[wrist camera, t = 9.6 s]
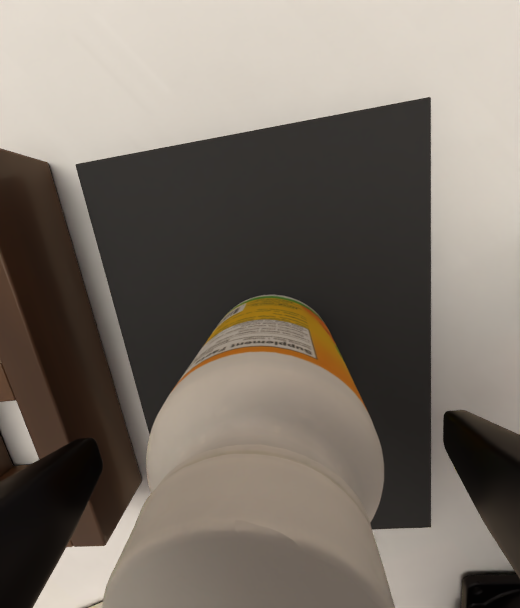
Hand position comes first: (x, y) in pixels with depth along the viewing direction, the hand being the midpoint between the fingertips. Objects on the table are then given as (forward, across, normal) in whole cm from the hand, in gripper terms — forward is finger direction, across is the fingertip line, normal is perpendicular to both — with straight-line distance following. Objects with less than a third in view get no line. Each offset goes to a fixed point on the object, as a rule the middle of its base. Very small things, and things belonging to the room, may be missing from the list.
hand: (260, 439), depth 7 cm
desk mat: (+6, 0, +1) cm, 6 cm away
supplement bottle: (+6, 0, 0) cm, 6 cm away
